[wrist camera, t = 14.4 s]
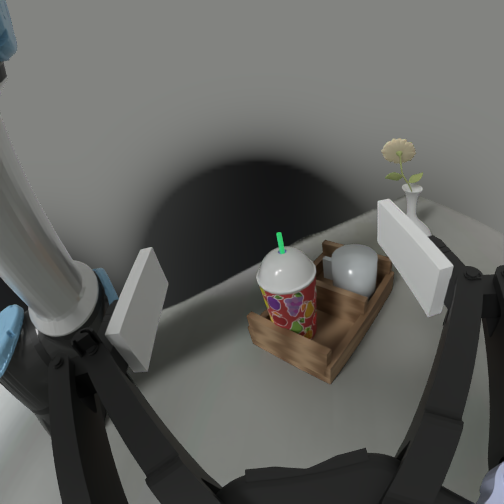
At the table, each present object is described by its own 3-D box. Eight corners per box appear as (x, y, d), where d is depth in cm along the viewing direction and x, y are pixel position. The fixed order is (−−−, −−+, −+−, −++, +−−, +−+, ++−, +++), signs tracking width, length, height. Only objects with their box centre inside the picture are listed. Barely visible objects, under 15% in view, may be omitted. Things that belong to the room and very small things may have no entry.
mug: (381, 289, 53) (384, 250, 48) (363, 317, 48) (366, 277, 43) (335, 274, 59) (333, 237, 54) (315, 298, 55) (311, 260, 50)
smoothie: (311, 311, 52) (298, 211, 42) (329, 344, 45) (322, 239, 35) (267, 326, 52) (241, 228, 41) (280, 361, 45) (254, 260, 34)
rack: (253, 343, 51) (243, 314, 47) (324, 268, 64) (322, 239, 60) (330, 384, 41) (330, 357, 37) (392, 289, 54) (395, 259, 50)
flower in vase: (433, 232, 66) (439, 136, 52) (426, 257, 59) (435, 149, 45) (388, 223, 73) (386, 131, 60) (375, 245, 67) (373, 142, 53)
